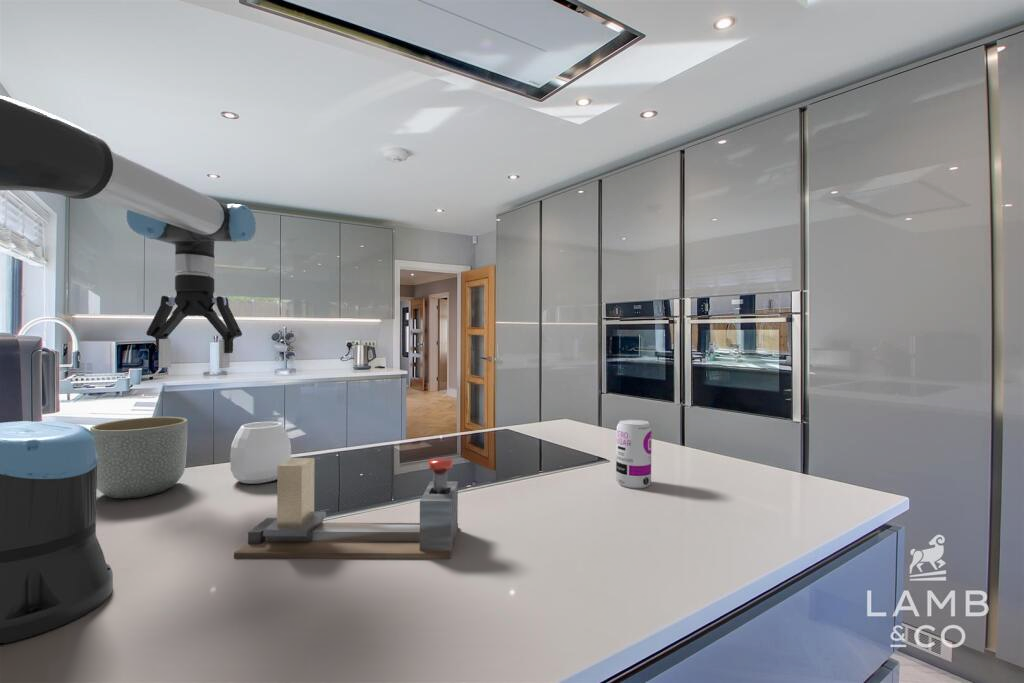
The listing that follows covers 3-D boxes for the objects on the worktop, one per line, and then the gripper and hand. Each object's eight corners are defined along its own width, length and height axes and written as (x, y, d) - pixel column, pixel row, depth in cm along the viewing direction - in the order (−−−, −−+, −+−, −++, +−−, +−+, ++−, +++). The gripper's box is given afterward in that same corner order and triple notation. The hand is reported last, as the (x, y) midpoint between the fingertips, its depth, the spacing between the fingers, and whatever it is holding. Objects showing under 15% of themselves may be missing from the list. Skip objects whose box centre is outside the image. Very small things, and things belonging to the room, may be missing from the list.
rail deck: (449, 558, 73) (450, 503, 73) (234, 557, 73) (234, 502, 73) (458, 527, 85) (458, 479, 85) (272, 526, 85) (273, 478, 85)
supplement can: (654, 482, 113) (655, 421, 113) (645, 491, 106) (645, 426, 106) (622, 476, 117) (623, 417, 117) (611, 485, 110) (611, 422, 110)
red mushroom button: (450, 506, 77) (450, 463, 77) (426, 506, 77) (426, 463, 77) (453, 498, 81) (453, 457, 81) (430, 498, 81) (430, 457, 81)
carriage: (306, 545, 75) (306, 468, 75) (263, 545, 75) (263, 468, 75) (325, 525, 83) (326, 455, 83) (286, 525, 83) (287, 455, 83)
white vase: (282, 468, 122) (282, 417, 122) (298, 480, 112) (299, 425, 112) (224, 478, 113) (224, 423, 113) (236, 492, 103) (237, 432, 103)
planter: (158, 476, 114) (158, 414, 114) (204, 485, 108) (204, 419, 108) (72, 498, 99) (72, 426, 99) (119, 509, 92) (119, 433, 92)
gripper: (258, 278, 111) (257, 366, 111) (152, 277, 110) (152, 366, 110) (240, 273, 103) (239, 368, 103) (127, 272, 103) (126, 368, 103)
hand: (194, 367), depth 107 cm, fingers open, 13 cm apart
